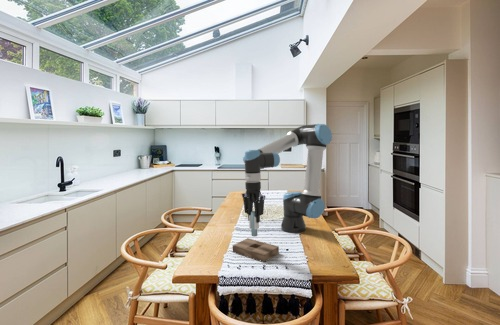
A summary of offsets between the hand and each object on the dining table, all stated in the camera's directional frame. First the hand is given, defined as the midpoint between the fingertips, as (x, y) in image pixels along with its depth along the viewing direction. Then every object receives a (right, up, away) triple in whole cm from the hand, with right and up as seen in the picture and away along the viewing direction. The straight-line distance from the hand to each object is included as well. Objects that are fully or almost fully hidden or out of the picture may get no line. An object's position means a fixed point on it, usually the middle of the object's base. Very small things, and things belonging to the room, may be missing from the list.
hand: (254, 228), depth 138 cm
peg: (0, -4, 0) cm, 4 cm away
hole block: (+1, -13, +1) cm, 13 cm away
